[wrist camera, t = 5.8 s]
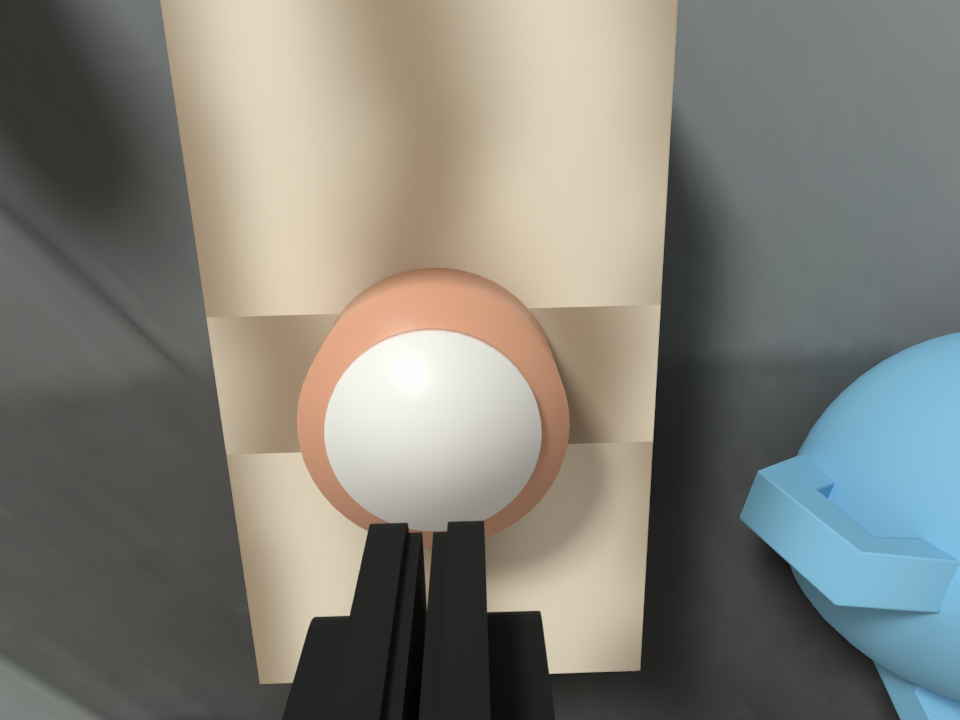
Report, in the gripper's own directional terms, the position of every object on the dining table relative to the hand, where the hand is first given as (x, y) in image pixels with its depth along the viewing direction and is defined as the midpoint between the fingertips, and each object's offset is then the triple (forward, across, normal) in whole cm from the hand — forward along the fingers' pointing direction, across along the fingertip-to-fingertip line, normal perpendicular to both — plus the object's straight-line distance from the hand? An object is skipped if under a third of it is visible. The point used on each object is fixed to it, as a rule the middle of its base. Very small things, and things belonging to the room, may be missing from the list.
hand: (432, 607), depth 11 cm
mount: (+18, 0, +1) cm, 18 cm away
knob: (+17, 0, +1) cm, 17 cm away
